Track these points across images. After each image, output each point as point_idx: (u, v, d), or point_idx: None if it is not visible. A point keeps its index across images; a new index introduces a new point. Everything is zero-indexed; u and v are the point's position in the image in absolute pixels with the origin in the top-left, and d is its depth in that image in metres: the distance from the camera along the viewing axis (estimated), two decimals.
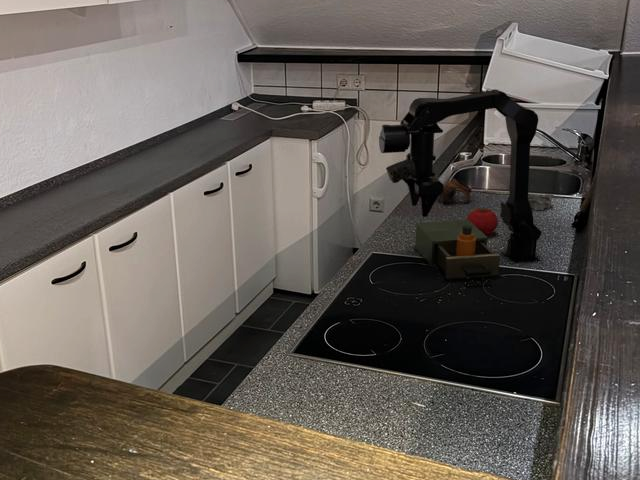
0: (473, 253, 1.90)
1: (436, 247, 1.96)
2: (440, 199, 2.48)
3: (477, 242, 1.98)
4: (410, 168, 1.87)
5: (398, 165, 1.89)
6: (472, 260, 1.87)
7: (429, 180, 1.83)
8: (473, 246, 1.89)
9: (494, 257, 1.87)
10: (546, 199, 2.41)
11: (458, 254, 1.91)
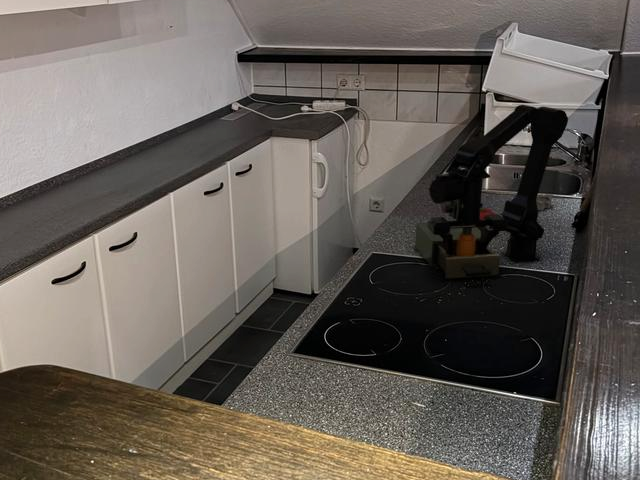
0: (473, 253, 1.90)
1: (436, 247, 1.96)
2: None
3: (477, 242, 1.98)
4: None
5: None
6: (472, 260, 1.87)
7: (438, 219, 1.88)
8: (473, 246, 1.89)
9: (494, 257, 1.87)
10: (546, 199, 2.41)
11: (458, 254, 1.91)
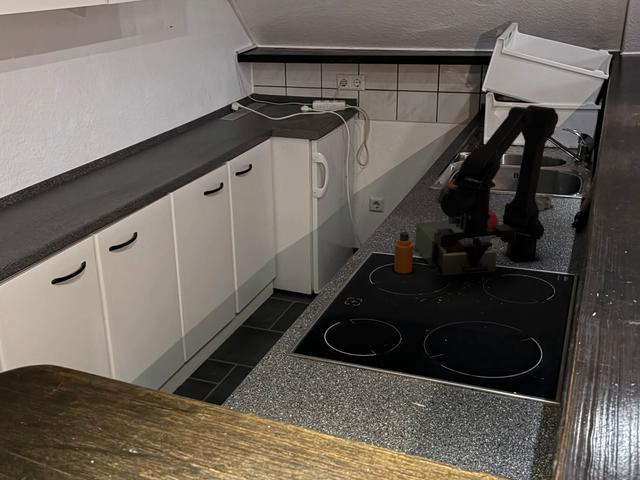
0: (410, 259, 1.93)
1: None
2: (440, 199, 2.48)
3: None
4: None
5: None
6: None
7: (445, 231, 1.84)
8: (410, 252, 1.92)
9: (491, 254, 1.89)
10: (546, 199, 2.41)
11: (396, 260, 1.94)
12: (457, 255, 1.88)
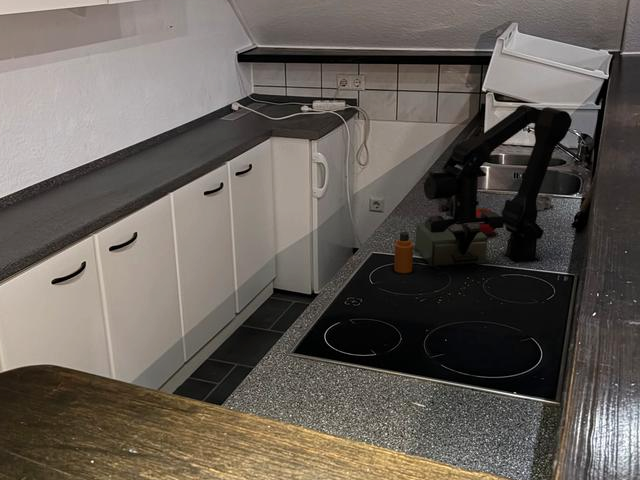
0: (410, 259, 1.93)
1: None
2: (440, 199, 2.48)
3: None
4: None
5: None
6: None
7: (435, 218, 1.90)
8: (410, 252, 1.92)
9: (481, 244, 1.95)
10: (546, 199, 2.41)
11: (396, 260, 1.94)
12: (448, 245, 1.94)
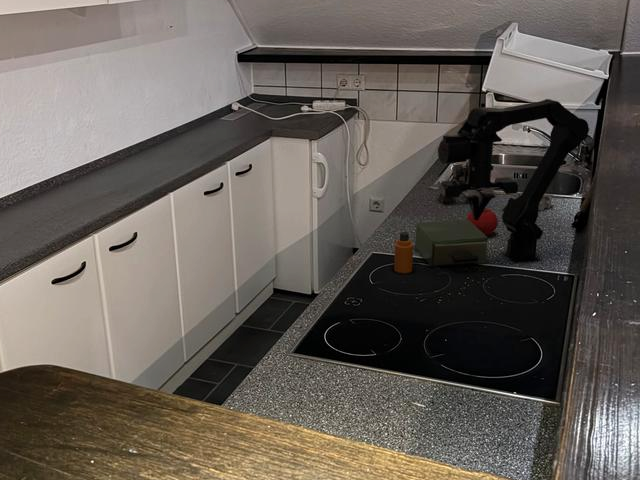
0: (410, 259, 1.93)
1: None
2: (440, 199, 2.48)
3: None
4: None
5: None
6: (460, 247, 1.95)
7: (449, 183, 1.90)
8: (410, 252, 1.92)
9: (481, 244, 1.95)
10: (546, 199, 2.41)
11: (396, 260, 1.94)
12: (448, 245, 1.94)
